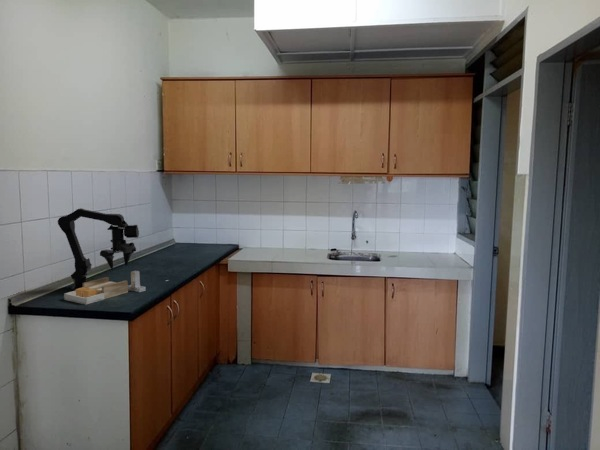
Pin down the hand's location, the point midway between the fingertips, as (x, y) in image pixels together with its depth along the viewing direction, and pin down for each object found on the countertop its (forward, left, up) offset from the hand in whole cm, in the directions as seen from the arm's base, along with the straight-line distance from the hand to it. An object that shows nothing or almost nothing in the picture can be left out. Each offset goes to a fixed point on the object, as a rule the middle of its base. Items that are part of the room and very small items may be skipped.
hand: (119, 266), depth 230 cm
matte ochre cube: (+1, -21, -8) cm, 23 cm away
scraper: (+12, 0, -11) cm, 16 cm away
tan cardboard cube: (+7, -21, -8) cm, 24 cm away
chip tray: (+4, -24, -11) cm, 27 cm away
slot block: (+4, -12, -11) cm, 17 cm away
